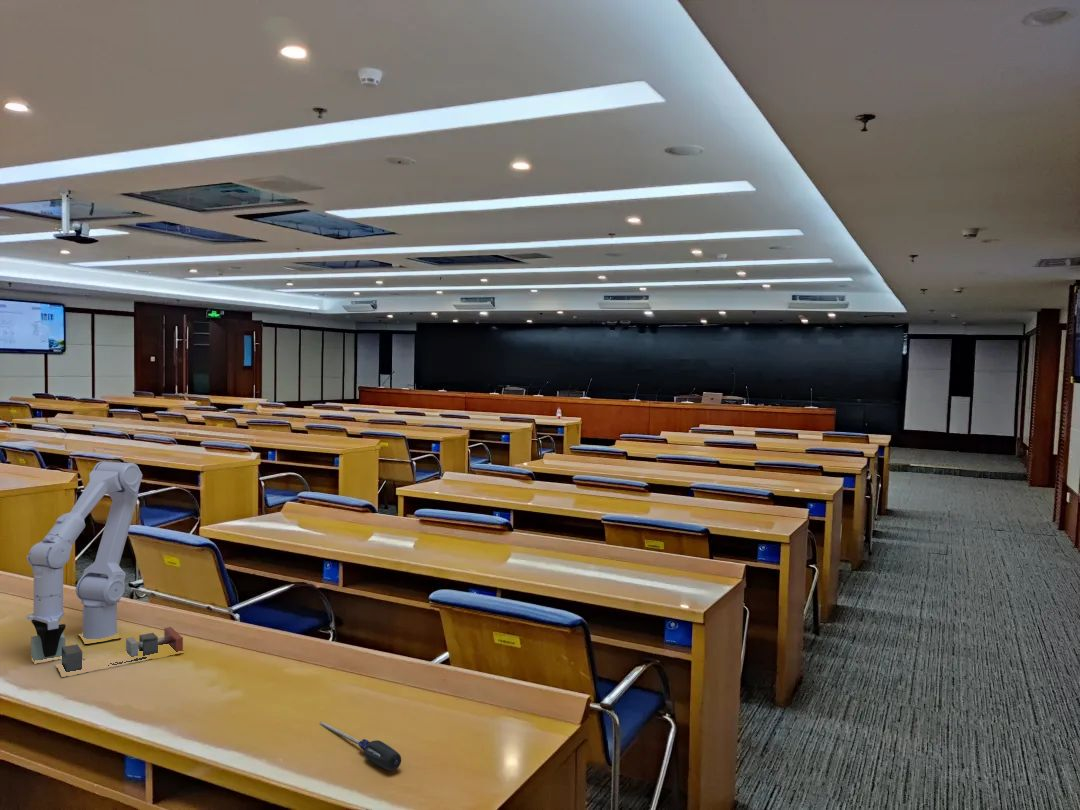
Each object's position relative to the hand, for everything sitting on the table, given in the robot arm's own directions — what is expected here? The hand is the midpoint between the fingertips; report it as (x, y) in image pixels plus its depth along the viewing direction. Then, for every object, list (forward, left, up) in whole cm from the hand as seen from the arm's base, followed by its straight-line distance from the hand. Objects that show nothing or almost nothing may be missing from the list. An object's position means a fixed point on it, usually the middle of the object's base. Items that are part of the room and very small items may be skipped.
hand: (48, 652), depth 173 cm
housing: (0, 0, -1) cm, 1 cm away
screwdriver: (+82, +36, -2) cm, 89 cm away
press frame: (+11, +12, -1) cm, 16 cm away
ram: (+11, +20, 0) cm, 22 cm away
